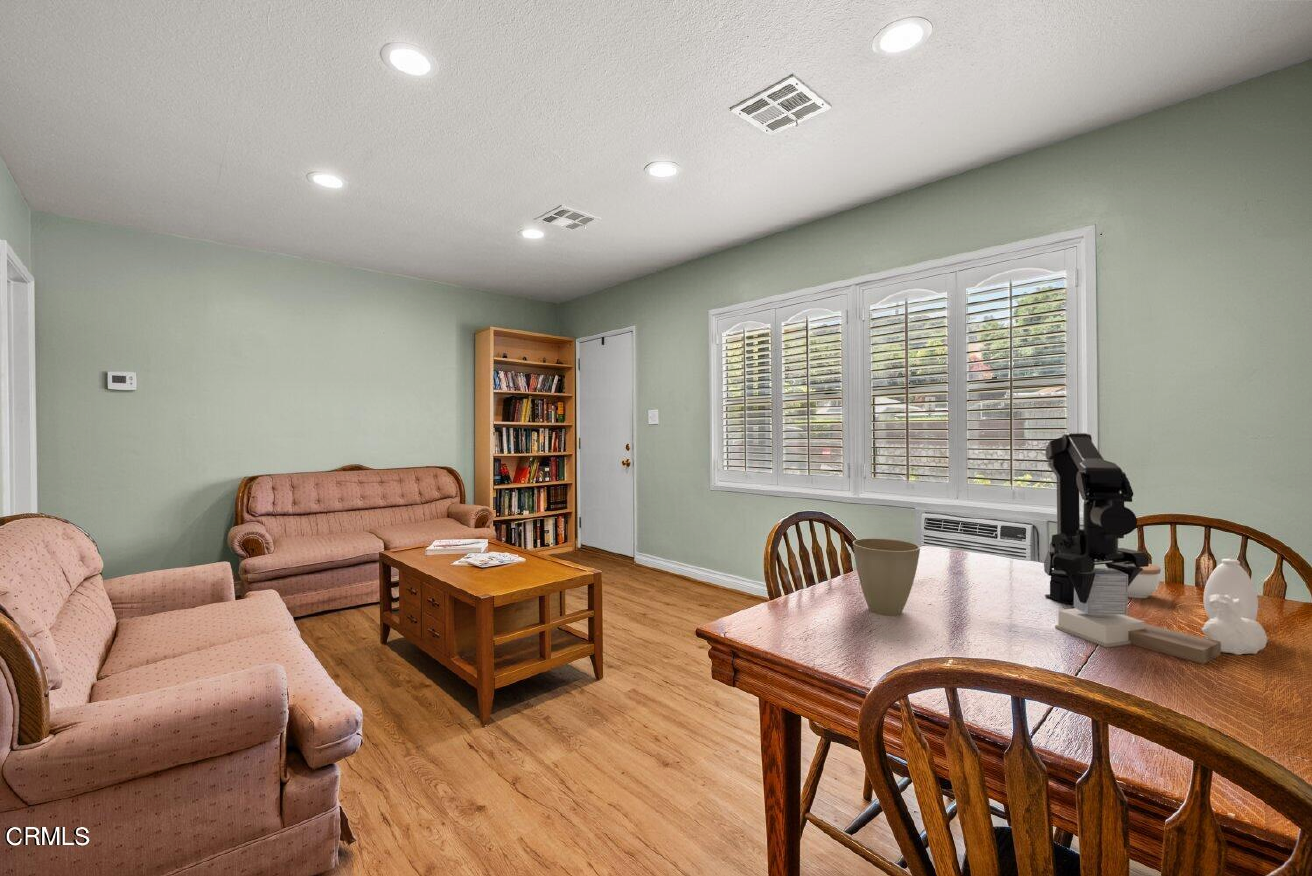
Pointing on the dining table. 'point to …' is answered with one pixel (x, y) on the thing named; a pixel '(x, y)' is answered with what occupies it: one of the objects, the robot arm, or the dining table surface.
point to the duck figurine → (1233, 627)
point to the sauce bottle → (1232, 587)
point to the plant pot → (886, 572)
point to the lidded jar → (1145, 582)
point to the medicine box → (1106, 593)
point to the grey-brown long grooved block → (1175, 643)
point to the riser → (1098, 626)
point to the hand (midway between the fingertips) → (1100, 600)
